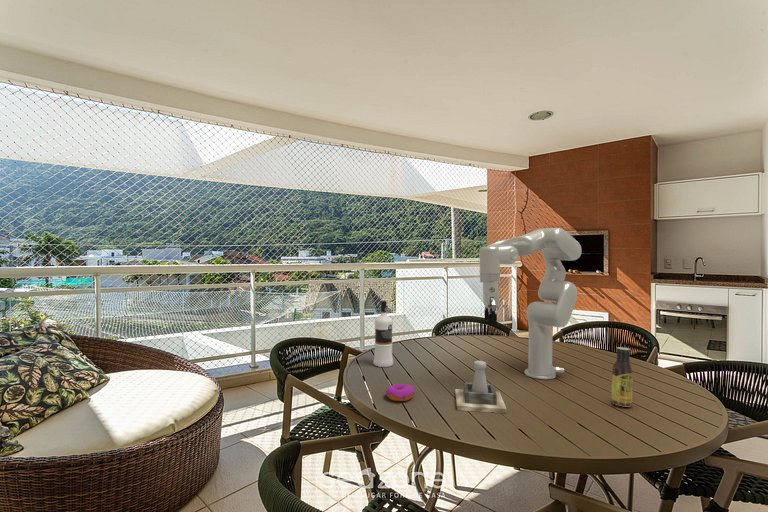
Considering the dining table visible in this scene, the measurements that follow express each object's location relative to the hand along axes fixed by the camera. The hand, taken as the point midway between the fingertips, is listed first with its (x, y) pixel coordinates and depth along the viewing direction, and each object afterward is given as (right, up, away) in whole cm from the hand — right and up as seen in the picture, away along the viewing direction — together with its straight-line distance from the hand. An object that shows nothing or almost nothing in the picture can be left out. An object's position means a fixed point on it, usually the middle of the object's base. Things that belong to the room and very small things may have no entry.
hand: (490, 322), depth 150 cm
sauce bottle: (+41, -27, -15) cm, 52 cm away
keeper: (-8, -26, -14) cm, 31 cm away
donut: (-36, -26, -10) cm, 45 cm away
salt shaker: (-8, -25, -14) cm, 29 cm away
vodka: (-42, -25, +30) cm, 57 cm away
